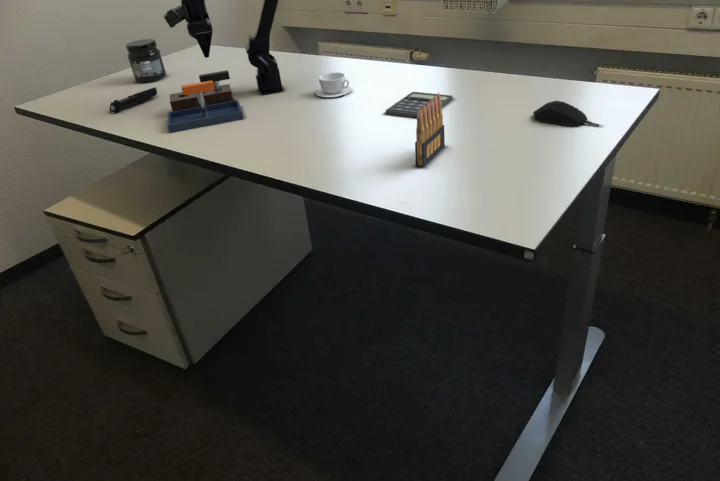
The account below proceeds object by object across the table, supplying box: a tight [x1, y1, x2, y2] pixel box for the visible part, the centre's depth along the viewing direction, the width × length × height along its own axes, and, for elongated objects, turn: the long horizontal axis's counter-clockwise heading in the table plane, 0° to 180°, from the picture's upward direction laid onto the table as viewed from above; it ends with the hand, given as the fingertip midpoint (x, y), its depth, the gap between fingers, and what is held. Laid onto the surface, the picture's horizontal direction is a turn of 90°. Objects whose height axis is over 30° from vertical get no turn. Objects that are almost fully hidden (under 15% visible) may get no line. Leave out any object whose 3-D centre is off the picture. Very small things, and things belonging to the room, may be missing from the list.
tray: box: [167, 99, 244, 133], centre depth 146 cm, size 19×11×2 cm, turn 106°
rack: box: [169, 83, 234, 112], centre depth 153 cm, size 17×7×4 cm, turn 106°
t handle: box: [180, 81, 215, 118], centre depth 144 cm, size 8×2×9 cm, turn 106°
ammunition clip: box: [414, 92, 446, 168], centre depth 111 cm, size 11×2×12 cm, turn 149°
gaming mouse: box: [532, 100, 600, 127], centre depth 122 cm, size 6×15×4 cm, turn 49°
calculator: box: [385, 91, 454, 118], centre depth 139 cm, size 12×1×15 cm
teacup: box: [315, 72, 352, 98], centre depth 154 cm, size 10×10×5 cm
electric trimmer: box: [108, 86, 158, 114], centre depth 163 cm, size 4×16×3 cm, turn 142°
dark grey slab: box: [198, 69, 231, 91], centre depth 153 cm, size 8×2×9 cm, turn 106°
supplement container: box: [125, 38, 167, 84], centre depth 183 cm, size 10×10×12 cm
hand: (206, 53), depth 153 cm, fingers open, 9 cm apart
